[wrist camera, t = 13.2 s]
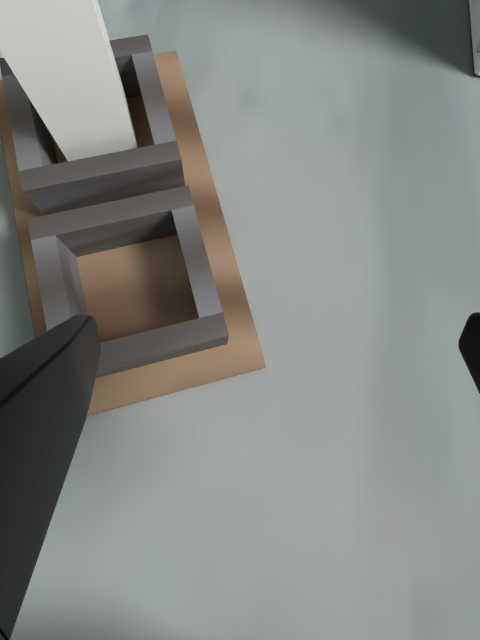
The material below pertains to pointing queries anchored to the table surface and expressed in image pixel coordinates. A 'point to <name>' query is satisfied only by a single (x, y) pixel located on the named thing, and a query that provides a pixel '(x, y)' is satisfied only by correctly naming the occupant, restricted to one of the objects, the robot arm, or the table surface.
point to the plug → (68, 73)
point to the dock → (131, 239)
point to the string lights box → (475, 32)
